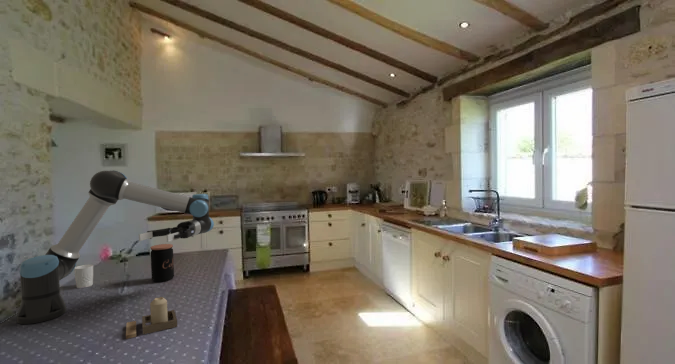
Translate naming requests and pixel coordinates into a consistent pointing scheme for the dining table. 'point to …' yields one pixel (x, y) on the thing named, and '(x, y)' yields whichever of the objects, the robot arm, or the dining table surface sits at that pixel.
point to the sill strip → (131, 329)
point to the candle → (158, 310)
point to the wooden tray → (161, 325)
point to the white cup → (84, 276)
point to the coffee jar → (162, 262)
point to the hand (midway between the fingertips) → (153, 238)
